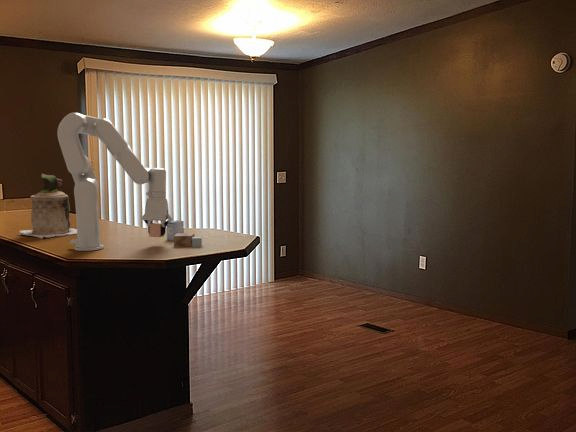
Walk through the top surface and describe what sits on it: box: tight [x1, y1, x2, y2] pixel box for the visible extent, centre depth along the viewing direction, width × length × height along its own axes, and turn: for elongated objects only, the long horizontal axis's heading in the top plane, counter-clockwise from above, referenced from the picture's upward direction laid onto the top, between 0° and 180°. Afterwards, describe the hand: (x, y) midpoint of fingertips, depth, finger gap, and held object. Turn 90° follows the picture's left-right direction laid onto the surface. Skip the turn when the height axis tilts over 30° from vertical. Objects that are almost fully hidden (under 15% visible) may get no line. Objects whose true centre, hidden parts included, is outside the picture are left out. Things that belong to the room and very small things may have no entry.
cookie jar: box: [18, 173, 77, 239], centre depth 302 cm, size 25×25×32 cm
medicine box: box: [166, 219, 185, 241], centre depth 282 cm, size 8×4×9 cm, turn 149°
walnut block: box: [173, 232, 195, 247], centre depth 264 cm, size 8×8×5 cm
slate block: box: [191, 236, 203, 248], centre depth 260 cm, size 4×4×4 cm
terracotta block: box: [148, 221, 165, 238], centre depth 263 cm, size 5×5×6 cm
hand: (156, 234), depth 263 cm, fingers closed on terracotta block, 5 cm apart
